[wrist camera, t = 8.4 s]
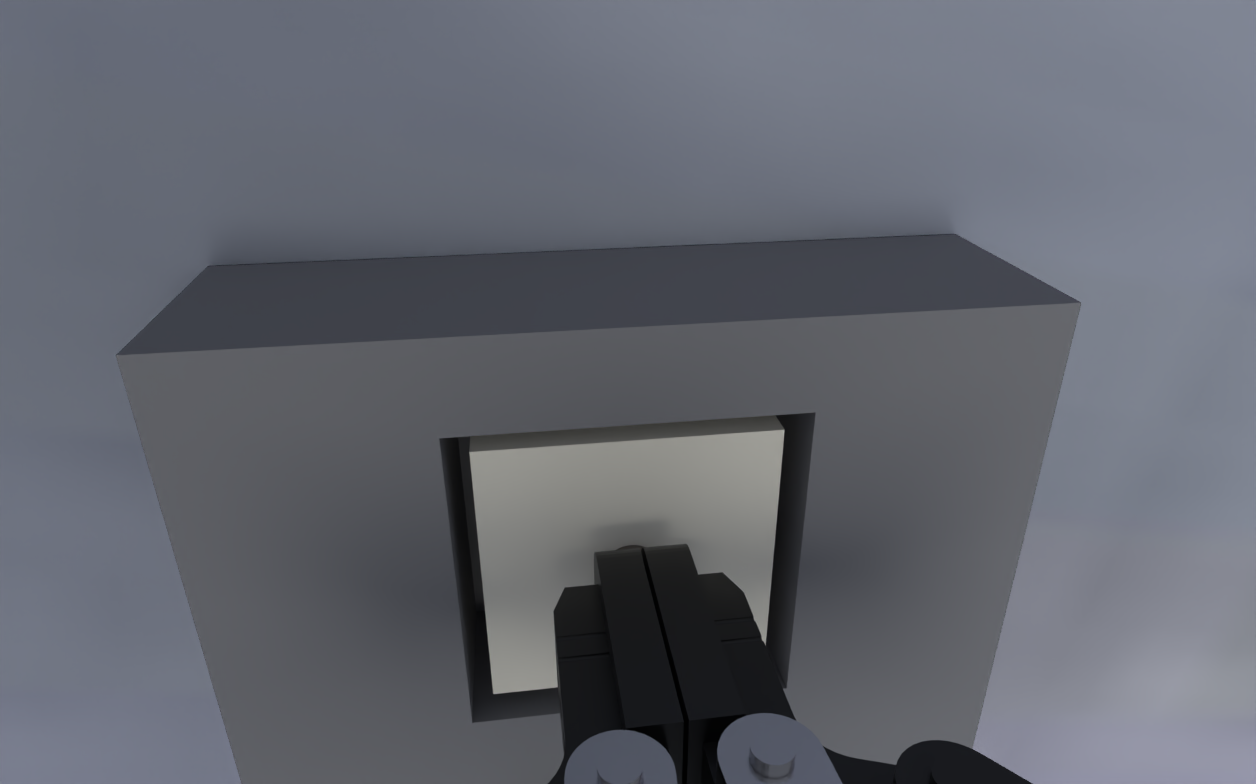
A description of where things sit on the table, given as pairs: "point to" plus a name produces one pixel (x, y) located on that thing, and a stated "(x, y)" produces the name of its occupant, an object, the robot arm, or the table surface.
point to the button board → (575, 399)
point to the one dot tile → (615, 519)
